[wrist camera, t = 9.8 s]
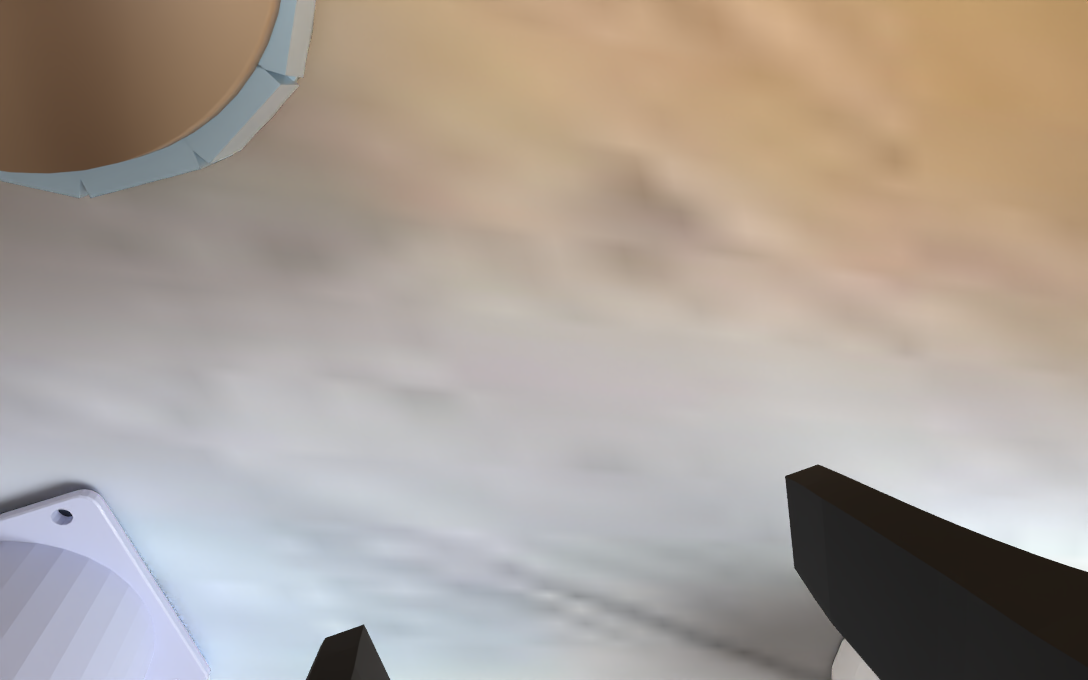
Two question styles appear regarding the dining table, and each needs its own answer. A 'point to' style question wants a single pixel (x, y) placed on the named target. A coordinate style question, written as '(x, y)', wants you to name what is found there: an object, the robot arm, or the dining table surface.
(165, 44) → the lid
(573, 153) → the dining table surface
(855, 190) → the dining table surface
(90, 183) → the bowl
